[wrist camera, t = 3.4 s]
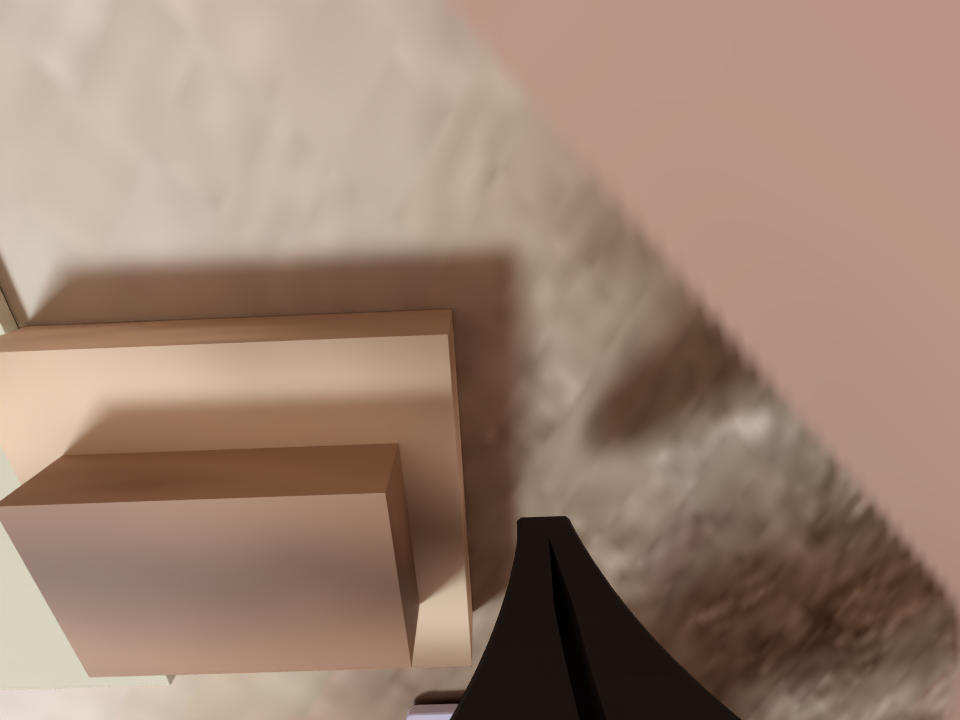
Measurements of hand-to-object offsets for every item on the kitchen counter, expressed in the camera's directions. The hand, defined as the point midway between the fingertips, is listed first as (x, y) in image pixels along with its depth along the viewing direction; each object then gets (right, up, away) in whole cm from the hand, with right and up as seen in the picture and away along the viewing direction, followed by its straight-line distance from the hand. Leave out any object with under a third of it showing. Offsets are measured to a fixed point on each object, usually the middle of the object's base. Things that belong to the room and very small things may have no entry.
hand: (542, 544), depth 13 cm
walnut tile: (-8, 0, +1) cm, 8 cm away
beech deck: (-8, +1, +3) cm, 9 cm away
